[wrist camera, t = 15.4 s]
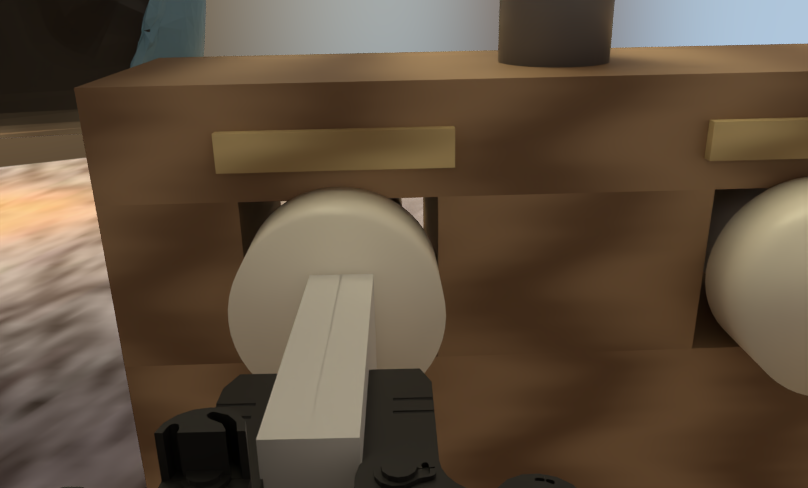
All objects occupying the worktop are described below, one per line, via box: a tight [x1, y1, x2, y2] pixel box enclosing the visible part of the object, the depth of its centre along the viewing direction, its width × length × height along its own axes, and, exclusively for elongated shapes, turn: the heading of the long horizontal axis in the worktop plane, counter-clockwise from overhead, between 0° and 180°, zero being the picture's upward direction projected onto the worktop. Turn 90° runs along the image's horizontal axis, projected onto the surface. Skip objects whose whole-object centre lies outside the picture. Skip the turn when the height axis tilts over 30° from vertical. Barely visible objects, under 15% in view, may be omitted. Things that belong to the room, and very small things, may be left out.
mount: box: [74, 44, 808, 488], centre depth 23 cm, size 25×7×14 cm, turn 92°
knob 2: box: [703, 176, 808, 396], centre depth 24 cm, size 5×15×5 cm, turn 2°
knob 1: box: [228, 187, 446, 374], centre depth 24 cm, size 5×15×5 cm, turn 2°
